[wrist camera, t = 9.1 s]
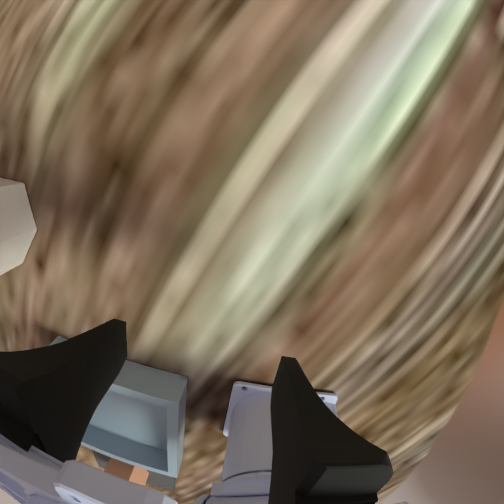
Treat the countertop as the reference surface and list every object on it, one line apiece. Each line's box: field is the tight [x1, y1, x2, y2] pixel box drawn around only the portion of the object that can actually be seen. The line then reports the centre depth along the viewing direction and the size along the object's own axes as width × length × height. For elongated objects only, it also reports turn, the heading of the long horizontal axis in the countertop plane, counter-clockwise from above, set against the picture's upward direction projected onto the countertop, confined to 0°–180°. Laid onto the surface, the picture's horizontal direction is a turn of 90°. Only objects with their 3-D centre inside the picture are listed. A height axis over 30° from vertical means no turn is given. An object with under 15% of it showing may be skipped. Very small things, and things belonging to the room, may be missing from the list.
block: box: [104, 458, 149, 486], centre depth 27 cm, size 4×4×6 cm
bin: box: [48, 336, 188, 478], centre depth 25 cm, size 14×14×4 cm
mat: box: [93, 450, 175, 491], centre depth 30 cm, size 12×10×1 cm
